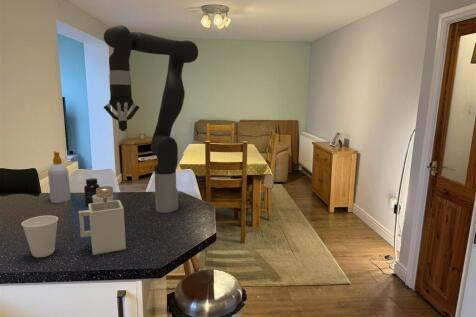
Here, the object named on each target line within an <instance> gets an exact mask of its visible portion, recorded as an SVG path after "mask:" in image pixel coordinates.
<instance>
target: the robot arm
mask: <svg viewBox="0 0 476 317" xmlns="http://www.w3.org/2000/svg"><path fill="white" fill-rule="evenodd" d="M103 40H104V42H105V44H106V45H107V46H108V47H110V48H112V49H113V52H112V53H111V54H110V55H109V58H108V66H109V67H108V68H109V76H108V78H109V81H108V82H109V96H110V99H109V100H108V103H107V104H106V105H103V109H104V110H105V111H106V113H108V114H109V116H110V117H111V118H112V119H113V120H116V121H118V129H119V130H120V132H126V130H127V129H128V121H129V120H131V119H133V117H134V116H135V114H136V113H137V112H138V110H139V109H140V106H139V105H137V104H136V103H134V100H133V96H132V94H133V93H132V77H131V72H130V69H131V68H130V58H131V52H132V51H135V52H139V53H146V54H150V55H151V54H152V55H165V56H168V67H167V73H166V78H165V83H164V84H165V85H164V89H163V93H162V97H161V102H160V107H159V108H160V109H159V113H158V117H157V123H156V126H155V129H154V133H153V135H152V139H151V142H150V149H151V150H150V151H152V153H153V154H154V155H156V156H157V164H156V165H155V166H154V169H153V170H154V188H155V189H154V191H155V192H154V194H155V195H154V197H155V212H157V213H161V214H163V213H165V214H169V213H173V212H175V211H176V212H177V211H178V210H179V191H178V188H177V166H178V160H179V159H178V158H179V157H178V156H179V150H178V143H177V140H175V138H174V137H171V134H172V129H173V126H174V124H175V122H176V121H177V118H178V117H179V115H180V114H181V111H182V109H183V105H184V100H185V97H186V96H185V94H186V93H185V92H186V91H185V87H184V83H183V77H182V73H183V68H184V64H190V63H193V62H195V61H196V60H197V59H198V56H199V48H198V46H197V44H196V43H194V41H191V40H185V39H184V40H175V39H170V38H164V37H160V36H158V35H153V34H149V33H145V32H141V31H130V29H129V28H128V27H126V26H125V25H116V26H113V27H110V28H107V29H106V30H105V31H104V33H103ZM112 108H113V110H114V111H115V112H116V114H117V115H116V114H114V112H113V110H112ZM130 109H132V110H131V111H130V113H129V114H128V112H129V110H130Z"/></svg>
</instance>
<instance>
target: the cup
mask: <svg viewBox="0 0 476 317" xmlns="http://www.w3.org/2000/svg"><path fill="white" fill-rule="evenodd" d="M58 221H59V217H58V216H55V215H49V214H48V215H39V216H35V217H34V216H33V217H30V218H28V219H25V220H23V221H22V222H21V226H22V228H23V231H24V234H25V237H26V240H27V244H28V246H29V249H30V252H31V256H33V257H35V258H46V257H48V256H51V255H52V254H53V253H55V248H56V240H57V239H56V238H57V230H58V229H57V228H58Z"/></svg>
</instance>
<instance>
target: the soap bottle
mask: <svg viewBox="0 0 476 317" xmlns="http://www.w3.org/2000/svg"><path fill="white" fill-rule="evenodd" d="M53 155H54V156H53V158H52V163H53V164H52V165H51V166H50V167H49V168H48V172H47V175H48V176H47V178H48V184H49V187H48V188H49V196H50V202H51V203H53V204H61V203H66V202H69V201H70V200H71V188H70V179H69V178H70V177H69V174H70V173H69V170H68V168H67V167H66V165H65V164H63V163H62V157H61V156H60V152H59V151H55V150H54V151H53Z"/></svg>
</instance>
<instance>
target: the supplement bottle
mask: <svg viewBox="0 0 476 317" xmlns="http://www.w3.org/2000/svg"><path fill="white" fill-rule="evenodd" d="M98 187H101V186H100V184H98V179H97V178H95V177H94V178H93V177H90V178H87V179H85V185H84V187H83V189H84V191H83V192H84V204H85V206H87V207H89V206H88V204H90V203H93V199H92V196H93V195H95V194H96V188H98Z"/></svg>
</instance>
